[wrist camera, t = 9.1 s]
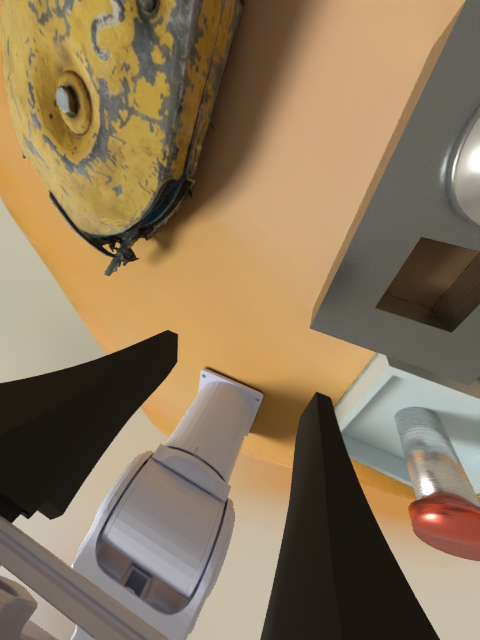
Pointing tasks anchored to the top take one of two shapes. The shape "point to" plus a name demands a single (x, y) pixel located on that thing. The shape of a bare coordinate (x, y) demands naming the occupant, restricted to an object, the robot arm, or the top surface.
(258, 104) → the top surface
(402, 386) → the tray
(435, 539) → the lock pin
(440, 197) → the bracket
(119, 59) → the pulley block
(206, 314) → the top surface
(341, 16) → the top surface
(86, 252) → the top surface
